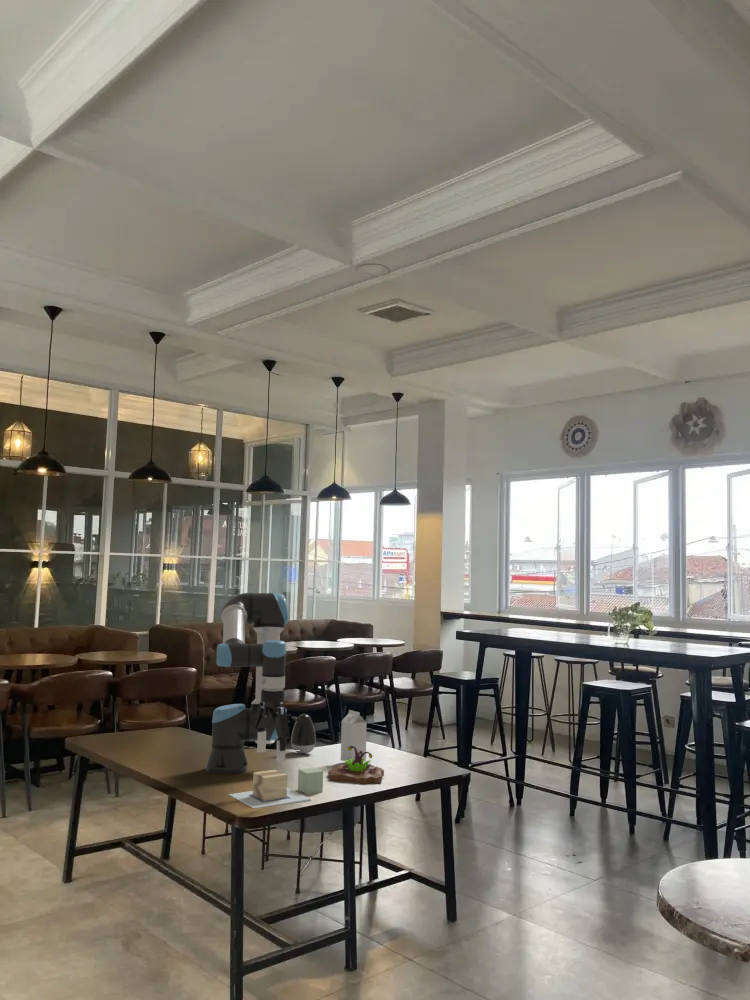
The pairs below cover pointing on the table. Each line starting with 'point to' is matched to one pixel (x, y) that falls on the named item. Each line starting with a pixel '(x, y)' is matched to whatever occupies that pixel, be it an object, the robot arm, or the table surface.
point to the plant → (356, 770)
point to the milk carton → (353, 735)
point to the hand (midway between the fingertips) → (270, 756)
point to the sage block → (310, 780)
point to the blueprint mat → (258, 803)
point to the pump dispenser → (303, 734)
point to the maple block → (269, 785)
